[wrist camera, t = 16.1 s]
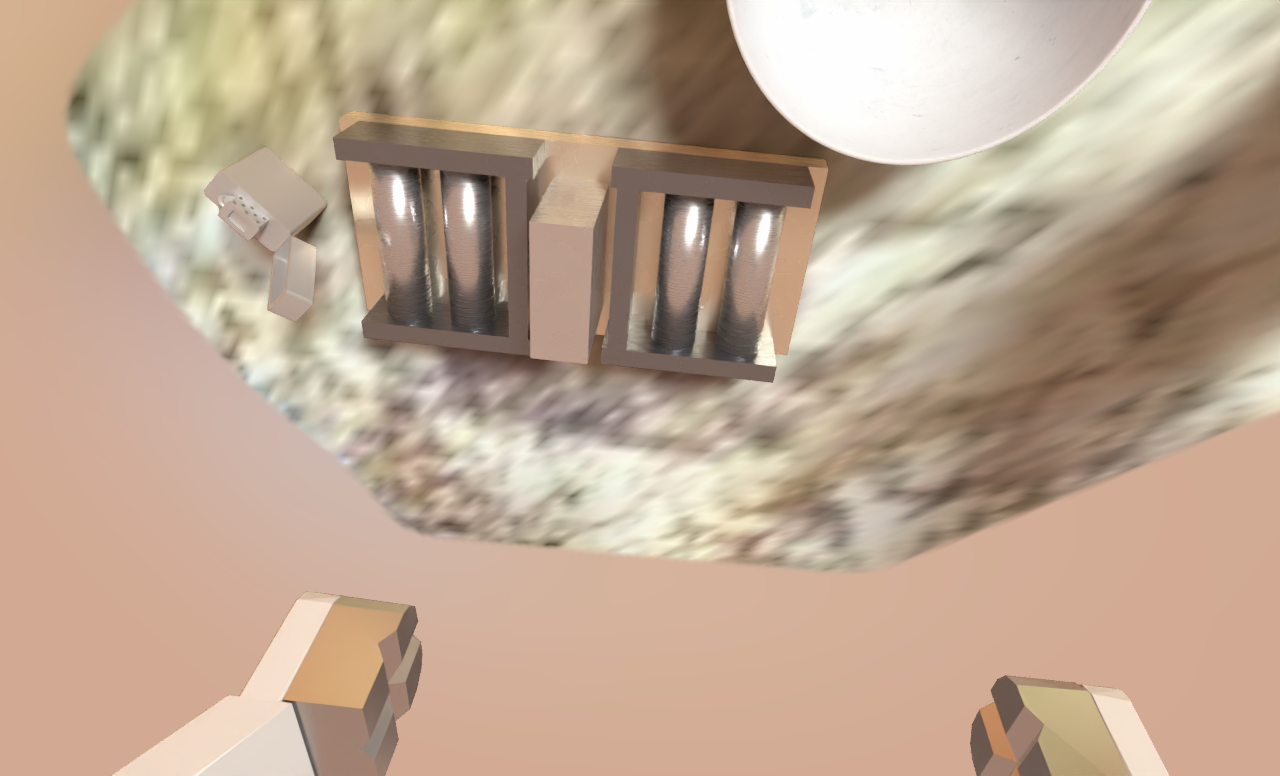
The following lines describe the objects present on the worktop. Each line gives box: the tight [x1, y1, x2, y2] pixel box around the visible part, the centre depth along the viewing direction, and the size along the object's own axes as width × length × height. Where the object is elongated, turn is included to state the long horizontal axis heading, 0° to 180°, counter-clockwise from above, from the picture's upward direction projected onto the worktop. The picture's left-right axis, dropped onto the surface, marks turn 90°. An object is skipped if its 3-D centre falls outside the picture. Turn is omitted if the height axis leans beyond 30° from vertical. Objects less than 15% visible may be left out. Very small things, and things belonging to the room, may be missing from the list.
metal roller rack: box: [333, 111, 829, 383], centre depth 38 cm, size 24×11×4 cm, turn 86°
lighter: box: [204, 147, 327, 322], centre depth 37 cm, size 7×2×8 cm, turn 41°
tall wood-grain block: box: [529, 177, 609, 364], centre depth 36 cm, size 3×7×6 cm, turn 175°
